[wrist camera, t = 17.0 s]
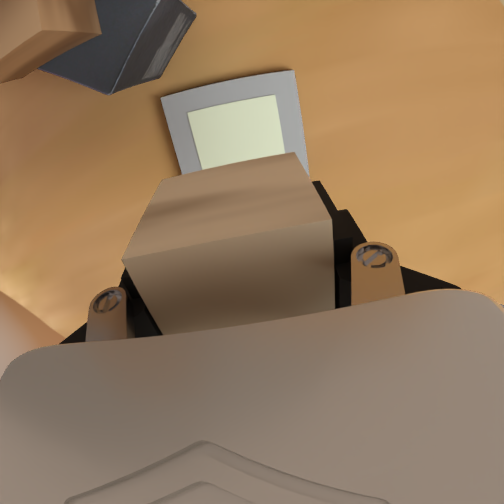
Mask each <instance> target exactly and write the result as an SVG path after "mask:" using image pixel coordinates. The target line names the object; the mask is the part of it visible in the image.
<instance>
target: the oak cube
mask: <svg viewBox="0 0 504 504" xmlns="http://www.w3.org/2000/svg"><path fill="white" fill-rule="evenodd" d="M121 260H122V262H123V264H124V266H125V267H126V269H127V271H128V273H129V275H130V277H131V279H132V281H133V283H134V285H135V286H136V288H137V290H138V292H139V294H140V296H141V297H142V299H143V301H144V303H145V305H146V306H147V308H148V310H149V312H150V313H151V315H152V317H153V318H154V320H155V322H156V324H157V325H158V327H159V329H160V330H161V332H162V334H163V335H171V334H180V333H188V332H196V331H204V330H212V329H219V328H226V327H233V326H240V325H247V324H253V323H260V322H266V321H272V320H278V319H284V318H290V317H295V316H301V315H306V314H312V313H317V312H323V311H328V310H333V309H335V281H334V251H333V230H332V219H331V217H330V215H329V213H328V211H327V209H326V207H325V205H324V203H323V202H322V200H321V198H320V196H319V194H318V192H317V191H316V189H315V187H314V185H313V183H312V182H311V180H310V178H309V176H308V175H307V173H306V171H305V169H304V168H303V166H302V164H301V162H300V161H299V159H298V157H297V155H296V154H295V152H290V153H284V154H279V155H273V156H267V157H262V158H257V159H251V160H246V161H241V162H236V163H232V164H227V165H222V166H218V167H213V168H209V169H204V170H200V171H195V172H191V173H187V174H183V175H179V176H175V177H171V178H167V179H163V180H162V181H161V182H160V184H159V186H158V188H157V190H156V192H155V193H154V195H153V197H152V199H151V201H150V203H149V205H148V207H147V209H146V210H145V212H144V214H143V216H142V218H141V220H140V222H139V224H138V226H137V228H136V230H135V232H134V234H133V236H132V238H131V240H130V242H129V245H128V247H127V249H126V251H125V253H124V255H123V257H122V259H121Z"/></svg>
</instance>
